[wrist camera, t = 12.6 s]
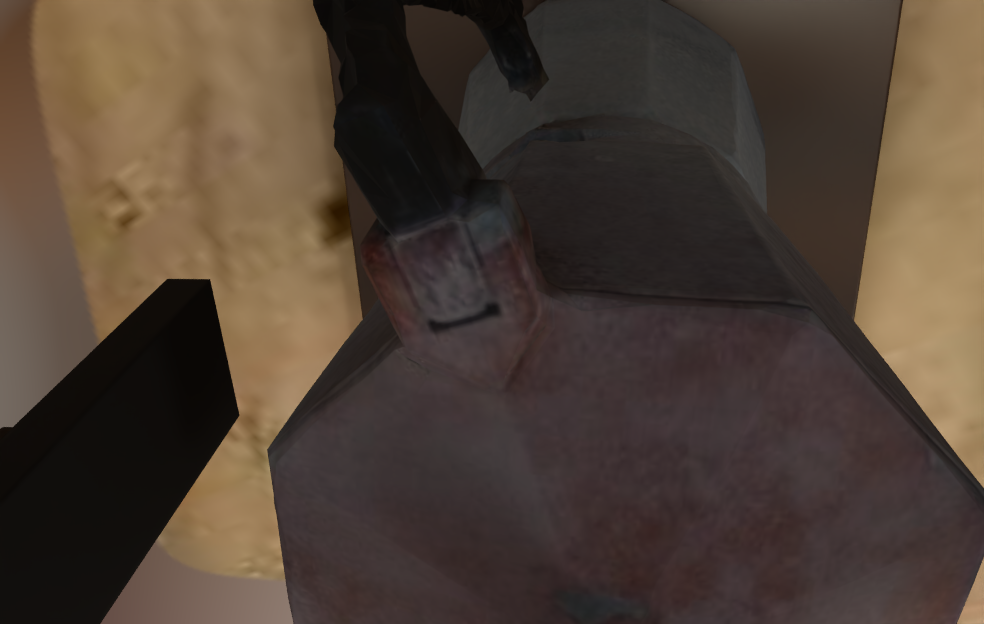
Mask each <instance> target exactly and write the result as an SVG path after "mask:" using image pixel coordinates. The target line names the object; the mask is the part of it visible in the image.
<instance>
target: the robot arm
mask: <svg viewBox="0 0 984 624" xmlns="http://www.w3.org/2000/svg"><path fill="white" fill-rule="evenodd" d="M238 417H239V411H238V407H237V402H236V397H235V393H234V388H233V383H232V379H231V374H230V370H229V365H228V360H227V356H226V351H225V346H224V342H223V337H222V333H221V328H220V323H219V319H218V314H217V309H216V305H215V300H214V296H213V291H212V286H211V282H210V279H167V280H166V281H165V282H164V283H163V284H162V285H161V286H159V287H158V288H157V289H156V290H155V291H154V292H153V293H152V294H151V295H150V296H149V297H148V298H147V299H146V300H145V301H144V302H143V303H142V304H141V305H140V306H139V307H138V308H137V309H136V310H134V311H133V312H132V313H131V314H130V315H129V316H128V317H127V318H126V319H125V320H124V321H123V322H122V323H121V324H120V325H119V326H118V327H117V328H116V329H115V330H114V331H113V332H112V333H111V334H109V335H108V336H107V337H106V338H105V339H104V340H103V341H102V342H101V343H100V344H99V345H98V346H97V347H96V348H95V349H94V350H93V351H92V352H91V353H90V354H89V355H88V356H87V357H86V358H85V359H84V360H82V361H81V362H80V363H79V364H78V365H77V366H76V367H75V368H74V369H73V370H72V371H71V372H70V373H69V374H68V375H67V376H66V377H65V378H64V379H63V380H62V381H60V383H58V384H57V385H56V386H55V387H54V388H53V389H52V390H51V391H50V392H49V393H48V394H47V395H46V396H45V397H44V398H43V399H42V400H41V401H40V402H39V403H38V404H37V405H35V407H33V408H32V409H31V410H30V411H29V412H28V413H27V414H26V415H25V416H24V417H23V418H22V419H21V420H20V421H19V422H18V423H17V424H16V425H15V426H14V427H3V428H1V429H0V624H100V623H101V622H102V620H103V619H104V617H105V616H106V614H107V613H108V611H109V610H110V608H111V607H112V605H113V604H114V602H115V601H116V599H117V598H118V596H119V595H120V593H121V592H122V590H123V589H124V587H125V586H126V584H127V583H128V581H129V580H130V578H131V577H132V575H133V574H134V572H135V571H136V569H137V568H138V566H139V565H140V563H141V562H142V560H143V559H144V557H145V556H146V554H147V553H148V551H149V550H150V548H151V547H152V545H153V544H154V542H155V541H156V539H157V538H158V536H159V535H160V534H161V532H162V531H163V529H164V528H165V526H166V525H167V523H168V522H169V520H170V519H171V517H172V516H173V514H174V513H175V511H176V510H177V508H178V507H179V505H180V504H181V502H182V501H183V499H184V498H185V496H186V495H187V493H188V492H189V490H190V489H191V487H192V486H193V484H194V483H195V481H196V480H197V478H198V477H199V475H200V474H201V472H202V471H203V469H204V468H205V466H206V465H207V463H208V462H209V460H210V459H211V457H212V456H213V454H214V453H215V451H216V450H217V448H218V447H219V445H220V444H221V442H222V441H223V439H224V438H225V436H226V435H227V433H228V432H229V430H230V429H231V427H232V426H233V424H234V423H235V421H236V420H237V418H238Z"/></svg>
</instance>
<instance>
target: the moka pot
mask: <svg viewBox="0 0 984 624" xmlns="http://www.w3.org/2000/svg"><path fill="white" fill-rule="evenodd" d="M403 5H408V6H414V5H423V6H424V7H429V8H434V9H438V10H442V11H446V12H448V11H450V10H451V11H452V12H453V13H454V14H459V15H460V16H462V17H463V16H467V17H468V18H469V19H470V20H472V21H473V22H474V23H475V24H476V25H477V26H478V28H479V30H480V31H481V33H482V35H483V36H484V38H485V40H486V41H487V43H488V45H489V47H490V50H489V51H488V52H487V54H486V55H485V56H484V57H483V58H482V59H481V60H480V61H479V62H478V64H477V65H476V66H475V67H474V68H473V70H472V71H471V72H470V74H469V77H468V82H467V86H466V90H465V96H464V102H463V107H462V113H461V118H460V123H459V129H457V128H456V127H455V125H454V124H453V122H452V121H451V119H450V118H449V116H448V115H447V113H446V112H445V110H444V109H443V108H442V106H441V105H440V103H439V102H438V100H437V99H436V97H435V96H434V94H433V93H432V91H431V90H430V88H429V87H428V85H427V84H426V82H425V80H424V79H423V77H422V76H421V74H420V71H419V69H418V66H417V63H416V61H415V58H414V55H413V53H412V50H411V47H410V44H409V42H408V39H407V36H406V16H405V11H404V9H405V8H404V7H403ZM313 6H314V8H315V11H316V13H317V16H318V19H319V21H320V24H321V26H322V27H323V29H324V30H325V32H326V34H327V36H328V38H329V40H330V43H331V45H332V47H333V49H334V51H335V53H336V55H337V57H338V59H339V61H340V63H341V66H340V71H339V76H338V79H339V82H340V86H341V90H342V93H343V99H342V101H341V102H340V103H339V104H338V105H337V110H336V115H335V120H334V125H333V127H334V130H335V138H334V147H335V149H336V150H337V152H338V154H339V155H340V157H341V159H342V160H343V162H344V164H345V165H346V167H347V169H348V170H349V172H350V174H351V175H352V177H353V178H354V180H355V182H356V183H357V185H358V187H359V188H360V190H361V192H362V193H363V195H364V197H365V198H366V200H367V202H368V203H369V205H370V207H371V208H372V210H373V212H374V213H375V215H376V217H377V218H376V220H375V222H374V223H373V225H372V226H371V228H370V229H369V231H368V233H367V234H366V236H365V237H364V239H363V241H362V242H361V244H360V252H361V263H362V266H363V268H364V270H365V272H366V274H367V276H368V278H369V280H370V282H371V284H372V286H373V288H374V290H375V292H376V294H377V296H378V300H377V301H376V303H375V304H374V306H373V307H372V308H371V310H370V311H369V312H368V314H367V315H366V316H365V317H364V319H363V320H362V321H361V322H360V324H359V325H358V326H357V328H356V329H355V330H354V331H353V333H352V334H351V335H350V336H349V338H348V339H347V340H346V341H345V343H344V344H343V345H342V347H341V348H340V349H339V351H338V352H337V353H336V355H335V356H334V358H333V359H332V360H331V362H330V363H329V364H328V366H327V367H326V368H325V370H324V371H323V372H322V374H321V375H320V377H319V378H318V379H317V381H316V382H315V383H314V385H313V386H312V387H311V389H310V390H309V391H308V393H307V394H306V395H305V397H304V398H303V400H302V401H301V402H300V404H299V405H298V406H297V408H296V409H295V411H294V412H293V413H292V415H291V416H290V418H289V419H288V421H287V422H286V423H285V425H284V426H283V428H282V429H281V431H280V432H279V434H278V435H277V436H276V438H275V439H274V441H273V442H272V444H271V445H270V447H269V448H268V449H267V451H268V458H269V465H270V471H271V478H272V485H273V492H274V504H275V509H276V514H277V521H278V528H279V536H280V543H281V550H282V557H283V565H284V572H285V579H286V586H287V593H288V599H289V604H290V608H291V613H292V617H293V622H294V624H957V622H958V619H959V617H960V614H961V612H962V610H963V607H964V605H965V602H966V600H967V598H968V595H969V593H970V590H971V588H972V586H973V583H974V580H975V578H976V575H977V573H978V570H979V568H980V565H981V563H982V560H983V557H984V488H983V487H982V486H981V484H980V483H979V482H978V481H977V479H976V478H975V477H974V476H973V474H972V473H971V472H970V471H969V469H968V468H967V467H966V466H965V464H964V463H963V462H962V461H961V459H960V458H959V457H958V456H957V454H956V453H955V452H954V450H953V449H952V448H951V446H950V445H949V444H948V443H947V441H946V440H945V439H944V437H943V436H942V435H941V434H940V432H939V431H938V430H937V428H936V427H935V426H934V424H933V423H932V422H931V421H930V419H929V418H928V417H927V415H926V414H925V413H924V411H923V410H922V409H921V407H920V406H919V405H918V403H917V402H916V401H915V399H914V398H913V397H912V395H911V394H910V393H909V391H908V390H907V389H906V387H905V386H904V385H903V383H902V382H901V381H900V380H899V378H898V377H897V376H896V374H895V373H894V372H893V371H892V369H891V368H890V367H889V365H888V364H887V363H886V362H885V360H884V359H883V358H882V357H881V355H880V354H879V353H878V351H877V350H876V349H875V348H874V346H873V345H872V344H871V343H870V341H869V340H868V339H867V338H866V336H865V335H864V334H863V332H862V331H861V330H860V328H859V327H858V326H857V324H856V323H855V322H854V320H853V319H852V318H851V317H850V315H849V314H848V313H847V311H846V310H845V309H844V307H843V306H842V305H841V303H840V302H839V301H838V299H837V298H836V297H835V296H834V294H833V293H832V292H831V290H830V289H829V288H828V286H827V285H826V284H825V282H824V281H823V280H822V278H821V277H820V276H819V275H818V273H817V272H816V271H815V270H814V268H813V267H812V266H811V265H810V264H809V263H808V262H807V260H806V259H805V258H804V257H803V256H802V255H801V253H800V252H799V251H798V250H797V249H796V247H795V246H794V245H793V244H792V242H791V241H790V240H789V239H788V238H787V236H786V235H785V234H784V233H783V232H782V230H781V229H780V228H779V227H778V226H777V224H776V223H775V222H774V221H773V220H772V219H771V218H770V217H769V216H768V215H767V196H766V165H765V140H764V133H763V130H762V127H761V123H760V120H759V116H758V113H757V111H756V108H755V104H754V101H753V98H752V95H751V92H750V90H749V87H748V84H747V81H746V77H745V74H744V71H743V68H742V65H741V63H740V60H739V58H738V55H737V52H736V50H735V48H734V47H732V46H731V45H730V44H729V43H728V42H727V41H726V40H724V39H723V38H722V37H720V36H719V35H718V34H716V33H715V32H714V31H712V30H711V29H709V28H708V27H707V26H705V25H704V24H702V23H701V22H699V21H698V20H697V19H695V18H693V17H691V16H689V15H688V14H686V13H684V12H682V11H680V10H679V9H677V8H675V7H673V6H671V5H669V4H667V3H665V2H663V1H661V0H546V1H545V2H543V3H541V4H539V5H538V6H537V7H536V8H535V9H534V10H533V11H531V12H530V13H529V14H527V15H526V16H525V17H524V18H523V17H522V15H523V9H524V7H523V3H522V0H313Z"/></svg>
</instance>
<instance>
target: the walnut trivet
mask: <svg viewBox="0 0 984 624" xmlns="http://www.w3.org/2000/svg"><path fill="white" fill-rule="evenodd" d="M545 1H546V0H522V3H523V7H524V9H523V15H522V17H523V18H524V17H525V16H526V15H527V14H529V13H530V12H531V11H533V10H534V9H535V8H536V7H537V6H538V5H539V4H541V3H543V2H545ZM661 1H663V2H665V3H667V4H669V5H671V6H673V7H675V8H677V9H679V10H680V11H682V12H684V13H686V14H688V15H689V16H691V17H693V18H695V19H697V20H698V21H699V22H701V23H702V24H704V25H705V26H707V27H708V28H709V29H711V30H712V31H714V32H715V33H716V34H718V35H719V36H720V37H722V38H723V39H724V40H726V41H727V42H728V43H729V44H730V45H731V46H732V47H734V48H735V50H736V52H737V55H738V58H739V60H740V63H741V65H742V68H743V71H744V74H745V77H746V81H747V84H748V87H749V90H750V92H751V95H752V98H753V101H754V104H755V108H756V111H757V113H758V116H759V120H760V123H761V127H762V130H763V133H764V140H765V165H766V196H767V215H768V216H769V217H770V218H771V219H772V220H773V221H774V222H775V223H776V224H777V226H778V227H779V228H780V229H781V230H782V232H783V233H784V234H785V235H786V236H787V238H788V239H789V240H790V241H791V242H792V244H793V245H794V246H795V247H796V249H797V250H798V251H799V252H800V253H801V255H802V256H803V257H804V258H805V259H806V260H807V262H808V263H809V264H810V265H811V266H812V267H813V268H814V270H815V271H816V272H817V273H818V275H819V276H820V277H821V278H822V280H823V281H824V282H825V284H826V285H827V286H828V288H829V289H830V290H831V292H832V293H833V294H834V296H835V297H836V298H837V299H838V301H839V302H840V303H841V305H842V306H843V307H844V309H845V310H846V311H847V313H848V314H849V315H850V317H851V318H852V319H853V320H854V317H855V311H856V304H857V298H858V291H859V285H860V278H861V271H862V265H863V258H864V252H865V245H866V239H867V232H868V226H869V219H870V213H871V206H872V200H873V193H874V187H875V180H876V174H877V167H878V161H879V154H880V148H881V141H882V135H883V128H884V122H885V115H886V108H887V102H888V95H889V89H890V82H891V76H892V69H893V63H894V56H895V50H896V43H897V37H898V30H899V24H900V17H901V11H902V4H903V0H661ZM403 7H404V8H405V9H404V11H405V16H406V36H407V39H408V42H409V44H410V47H411V50H412V53H413V55H414V58H415V61H416V63H417V66H418V69H419V71H420V74H421V76H422V77H423V79H424V80H425V82H426V84H427V85H428V87H429V88H430V90H431V91H432V93H433V94H434V96H435V97H436V99H437V100H438V102H439V103H440V105H441V106H442V108H443V109H444V110H445V112H446V113H447V115H448V116H449V118H450V119H451V121H452V122H453V124H454V125H455V127H456V128H457V129H459V123H460V118H461V113H462V107H463V102H464V96H465V90H466V86H467V82H468V77H469V74H470V72H471V71H472V70H473V68H474V67H475V66H476V65H477V64H478V62H479V61H480V60H481V59H482V58H483V57H484V56H485V55H486V54H487V52H488V51H489V50H490V47H489V45H488V43H487V41H486V40H485V38H484V36H483V35H482V33H481V31H480V30H479V28H478V26H477V25H476V24H475V23H474V22H473V21H472V20H470V19H469V18H468V17H467V16H463V17H462V16H460V15H459V14H454V13H453V12H452V11H451V10H450V11H448V12H446V11H442V10H438V9H434V8H429V7H424V6H423V5H414V6H408V5H403ZM326 36H327V34H326ZM327 44H328V51H329V59H330V67H331V75H332V83H333V90H334V98H335V106H336V110H337V105H338V104H339V103H340V102H341V101H342V99H343V93H342V90H341V86H340V82H339V79H338V76H339V71H340V66H341V63H340V61H339V59H338V57H337V55H336V53H335V51H334V49H333V47H332V45H331V43H330V40H329V38H328V36H327ZM342 161H343V160H342ZM343 168H344V176H345V184H346V192H347V200H348V207H349V215H350V223H351V231H352V239H353V246H354V254H355V262H356V270H357V278H358V285H359V293H360V301H361V309H362V317H363V319H364V317H365V316H366V315H367V314H368V312H369V311H370V310H371V308H372V307H373V306H374V304H375V303H376V301H377V300H378V296H377V294H376V292H375V290H374V288H373V286H372V284H371V282H370V280H369V278H368V276H367V274H366V272H365V270H364V268H363V266H362V263H361V252H360V244H361V242H362V241H363V239H364V237H365V236H366V234H367V233H368V231H369V229H370V228H371V226H372V225H373V223H374V222H375V220H376V218H377V217H376V215H375V213H374V212H373V210H372V208H371V207H370V205H369V203H368V202H367V200H366V198H365V197H364V195H363V193H362V192H361V190H360V188H359V187H358V185H357V183H356V182H355V180H354V178H353V177H352V175H351V174H350V172H349V170H348V169H347V167H346V165H345V164H344V162H343Z"/></svg>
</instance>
